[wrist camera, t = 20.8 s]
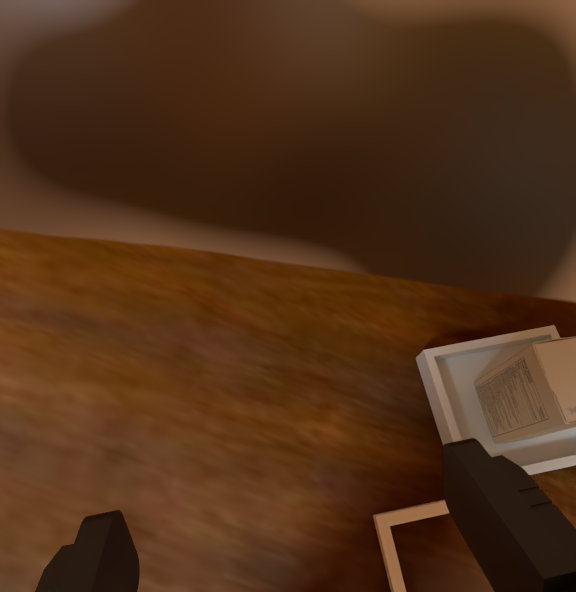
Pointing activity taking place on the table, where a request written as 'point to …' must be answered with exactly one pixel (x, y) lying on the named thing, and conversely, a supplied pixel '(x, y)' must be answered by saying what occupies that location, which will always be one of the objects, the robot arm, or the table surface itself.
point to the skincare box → (531, 392)
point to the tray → (466, 407)
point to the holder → (386, 539)
